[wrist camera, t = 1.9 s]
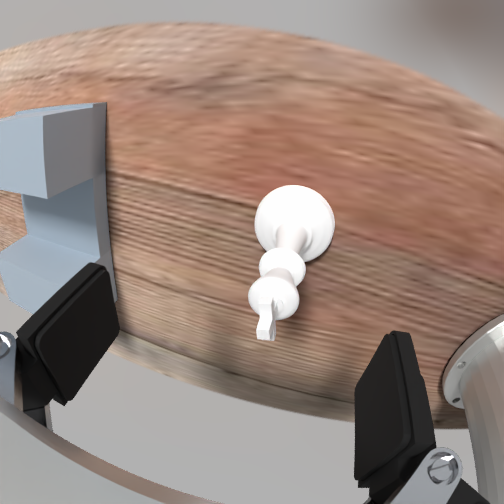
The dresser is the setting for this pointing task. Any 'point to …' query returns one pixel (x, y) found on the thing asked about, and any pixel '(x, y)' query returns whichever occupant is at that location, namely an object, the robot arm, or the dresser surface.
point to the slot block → (55, 198)
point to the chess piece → (287, 250)
